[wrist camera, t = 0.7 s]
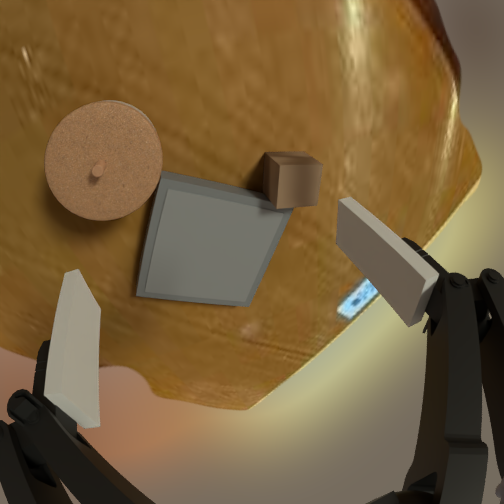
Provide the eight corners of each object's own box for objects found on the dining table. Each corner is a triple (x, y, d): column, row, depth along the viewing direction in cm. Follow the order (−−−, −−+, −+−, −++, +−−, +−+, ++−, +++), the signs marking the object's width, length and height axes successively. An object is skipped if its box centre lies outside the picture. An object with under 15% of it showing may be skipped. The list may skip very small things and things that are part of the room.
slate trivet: (136, 283, 40) (136, 296, 38) (160, 170, 32) (161, 178, 30) (244, 295, 46) (249, 307, 44) (286, 199, 39) (294, 208, 37)
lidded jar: (104, 206, 33) (92, 251, 25) (48, 138, 26) (15, 165, 19) (180, 151, 32) (188, 182, 25) (125, 74, 25) (113, 76, 18)
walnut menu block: (262, 191, 38) (276, 208, 34) (264, 152, 35) (280, 165, 31) (299, 188, 39) (317, 205, 35) (303, 151, 36) (322, 164, 32)
